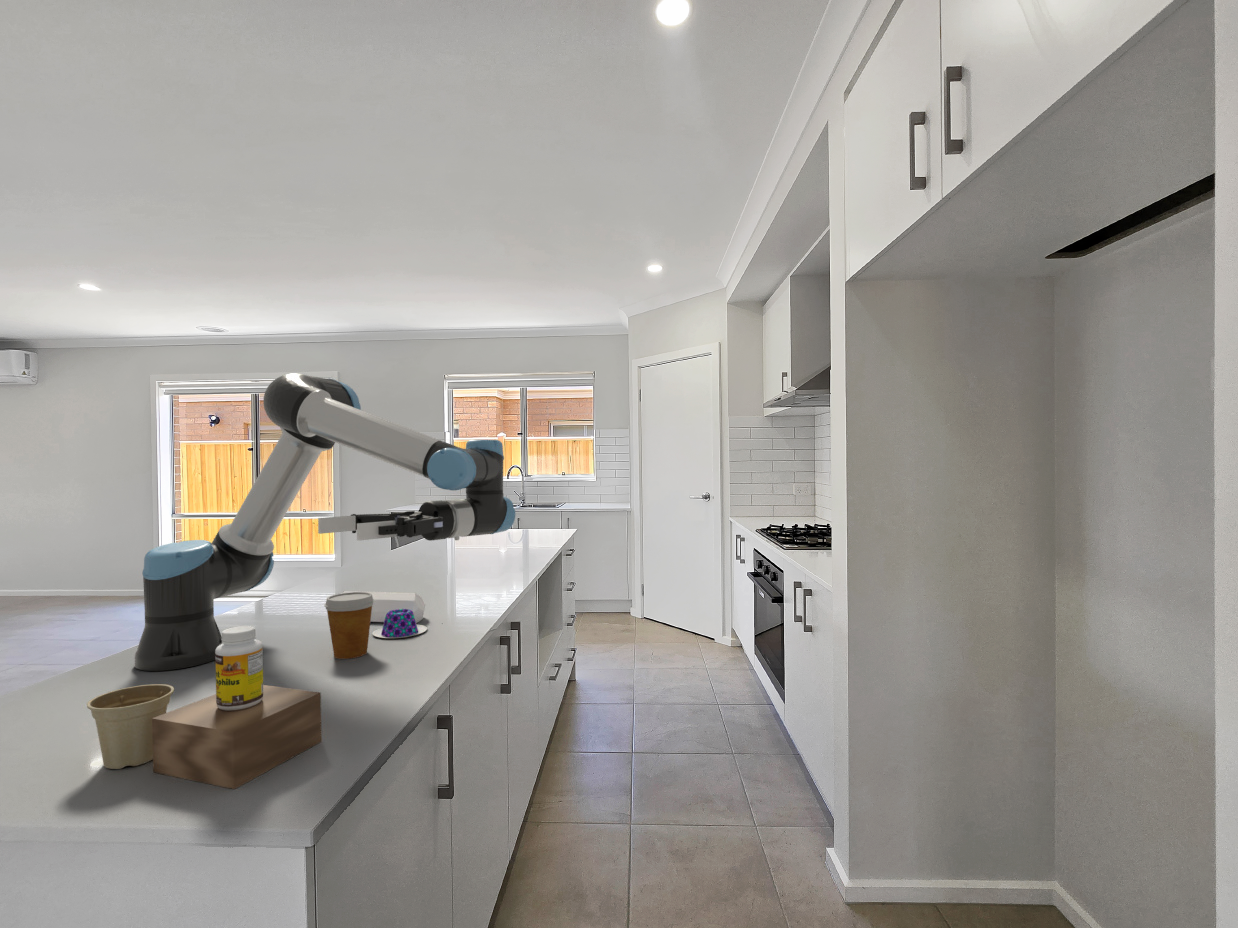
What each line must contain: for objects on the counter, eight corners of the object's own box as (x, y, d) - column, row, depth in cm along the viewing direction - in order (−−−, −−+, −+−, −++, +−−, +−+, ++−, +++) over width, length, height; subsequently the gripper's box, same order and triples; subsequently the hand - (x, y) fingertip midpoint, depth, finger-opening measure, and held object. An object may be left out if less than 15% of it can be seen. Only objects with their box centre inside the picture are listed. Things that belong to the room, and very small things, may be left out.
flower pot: (119, 745, 93) (118, 684, 93) (189, 742, 94) (188, 681, 94) (69, 777, 84) (68, 710, 84) (148, 773, 84) (146, 707, 84)
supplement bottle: (206, 709, 87) (204, 633, 87) (241, 695, 93) (239, 622, 92) (239, 714, 86) (237, 635, 86) (273, 698, 91) (271, 625, 91)
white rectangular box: (322, 608, 161) (412, 611, 156) (337, 588, 167) (424, 591, 162) (332, 630, 165) (420, 634, 160) (346, 610, 171) (432, 613, 166)
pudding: (419, 640, 146) (418, 617, 146) (364, 641, 145) (364, 618, 145) (432, 626, 158) (432, 604, 158) (382, 627, 157) (382, 605, 157)
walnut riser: (153, 772, 85) (152, 718, 85) (247, 729, 98) (246, 682, 98) (234, 788, 80) (233, 731, 80) (321, 741, 93) (320, 692, 93)
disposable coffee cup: (383, 647, 139) (382, 591, 139) (361, 661, 130) (360, 601, 130) (340, 647, 140) (339, 591, 140) (315, 661, 131) (314, 601, 131)
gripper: (484, 544, 119) (376, 558, 103) (409, 533, 136) (304, 544, 119) (484, 503, 119) (376, 511, 103) (408, 497, 135) (304, 502, 119)
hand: (337, 528), depth 111 cm, fingers open, 13 cm apart
